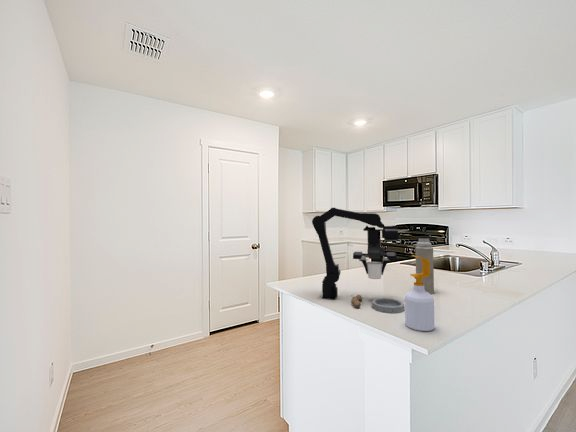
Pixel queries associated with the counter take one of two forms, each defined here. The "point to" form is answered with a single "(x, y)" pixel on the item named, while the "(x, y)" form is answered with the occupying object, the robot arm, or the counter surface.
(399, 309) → the tray
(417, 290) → the soap bottle
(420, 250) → the thermos bottle
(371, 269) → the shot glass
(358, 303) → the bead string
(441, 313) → the counter surface
